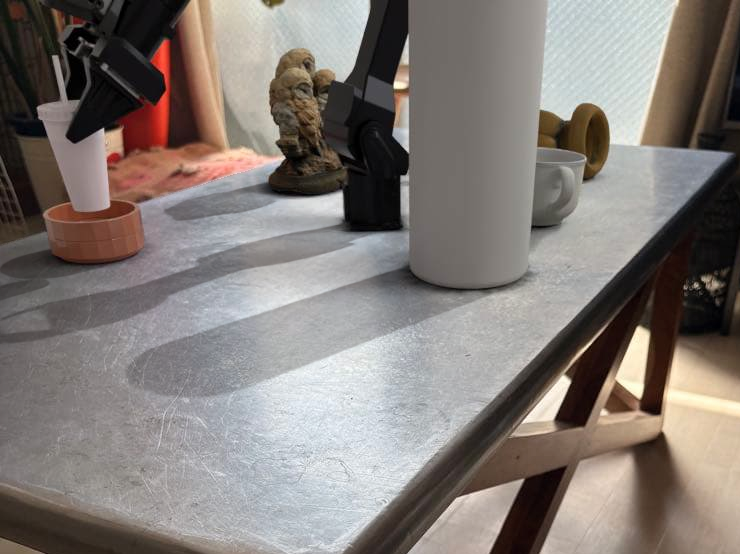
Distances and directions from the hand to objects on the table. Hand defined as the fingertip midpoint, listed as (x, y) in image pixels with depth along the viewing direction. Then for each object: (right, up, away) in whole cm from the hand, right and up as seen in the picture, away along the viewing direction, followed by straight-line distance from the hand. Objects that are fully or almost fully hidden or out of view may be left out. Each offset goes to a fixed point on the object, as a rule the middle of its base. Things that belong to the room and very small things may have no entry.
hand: (62, 135), depth 87 cm
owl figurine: (+21, +11, +39) cm, 46 cm away
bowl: (-1, -7, +12) cm, 15 cm away
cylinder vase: (+41, -12, +6) cm, 43 cm away
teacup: (+51, -1, +21) cm, 55 cm away
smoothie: (+1, -6, +5) cm, 7 cm away
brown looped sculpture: (+50, +14, +43) cm, 68 cm away
